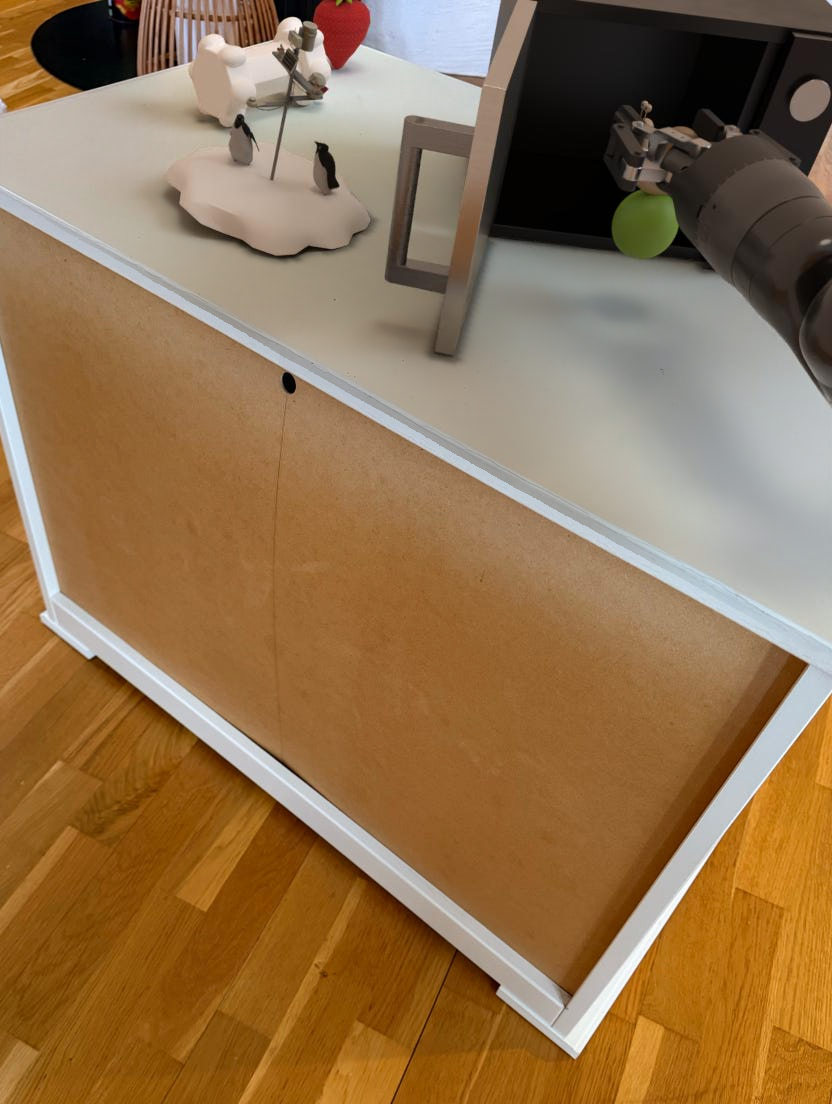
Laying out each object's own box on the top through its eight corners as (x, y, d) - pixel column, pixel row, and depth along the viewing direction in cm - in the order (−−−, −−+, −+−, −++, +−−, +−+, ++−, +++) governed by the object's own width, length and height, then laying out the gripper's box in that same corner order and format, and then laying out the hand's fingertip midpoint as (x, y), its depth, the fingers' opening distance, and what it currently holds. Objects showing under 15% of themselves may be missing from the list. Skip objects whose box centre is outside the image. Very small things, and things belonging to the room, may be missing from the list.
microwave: (765, 280, 89) (871, 46, 74) (480, 246, 88) (529, 2, 73) (717, 183, 104) (798, -29, 89) (472, 153, 103) (512, -66, 88)
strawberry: (375, 73, 117) (385, -20, 109) (326, 80, 114) (332, -16, 106) (350, 57, 120) (357, -35, 112) (301, 64, 117) (305, -31, 109)
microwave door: (371, 338, 75) (403, 70, 61) (418, 226, 90) (454, -14, 75) (453, 355, 75) (506, 89, 60) (488, 240, 89) (537, 1, 74)
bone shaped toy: (281, 86, 111) (283, 7, 105) (332, 110, 108) (338, 30, 101) (185, 112, 103) (182, 28, 97) (237, 138, 100) (237, 53, 94)
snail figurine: (583, 240, 81) (629, 89, 72) (648, 240, 82) (702, 92, 73) (607, 271, 77) (659, 116, 68) (675, 270, 79) (735, 119, 70)
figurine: (122, 188, 87) (120, -11, 74) (250, 141, 97) (268, -40, 85) (283, 287, 82) (310, 91, 69) (400, 227, 92) (442, 47, 79)
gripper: (873, 164, 62) (759, 72, 72) (677, 157, 59) (589, 62, 69) (818, 270, 67) (720, 171, 78) (638, 269, 64) (561, 165, 75)
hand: (658, 120), depth 74 cm, fingers closed on snail figurine, 6 cm apart
